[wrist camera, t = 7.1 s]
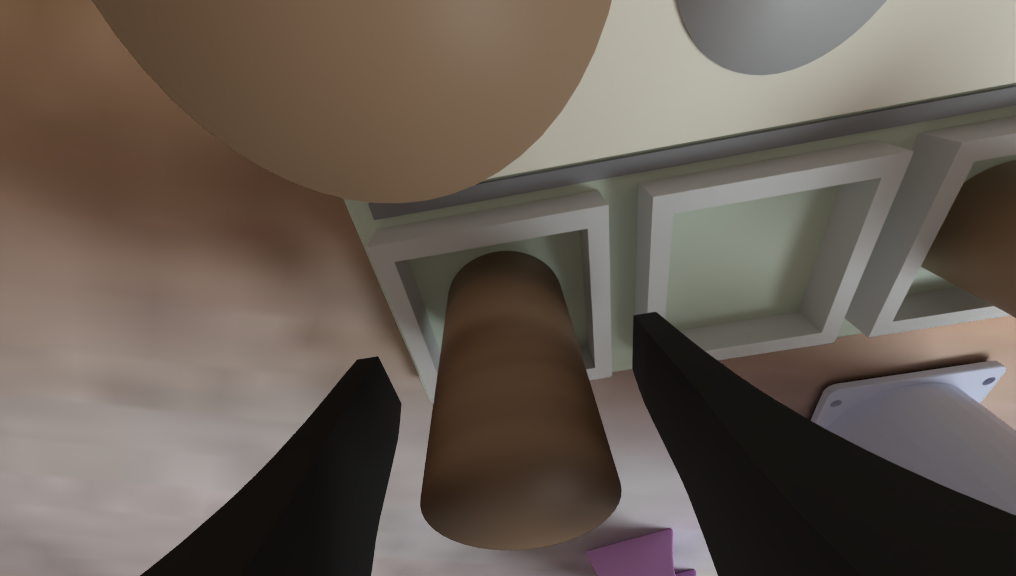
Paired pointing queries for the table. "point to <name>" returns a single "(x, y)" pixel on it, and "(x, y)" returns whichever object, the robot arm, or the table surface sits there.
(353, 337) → the table surface
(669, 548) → the toy chair
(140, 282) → the table surface
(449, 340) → the walnut pin
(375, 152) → the pin board
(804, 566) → the robot arm
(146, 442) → the table surface
